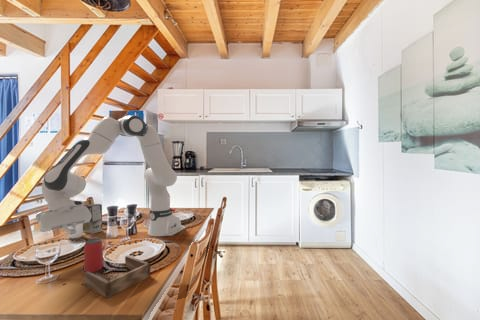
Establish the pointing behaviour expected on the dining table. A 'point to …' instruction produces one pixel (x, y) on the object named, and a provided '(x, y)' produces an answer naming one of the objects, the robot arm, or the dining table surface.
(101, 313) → the dining table surface
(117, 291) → the walnut corral
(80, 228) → the white cup
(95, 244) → the beer can
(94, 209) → the coffee box
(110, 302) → the dining table surface
